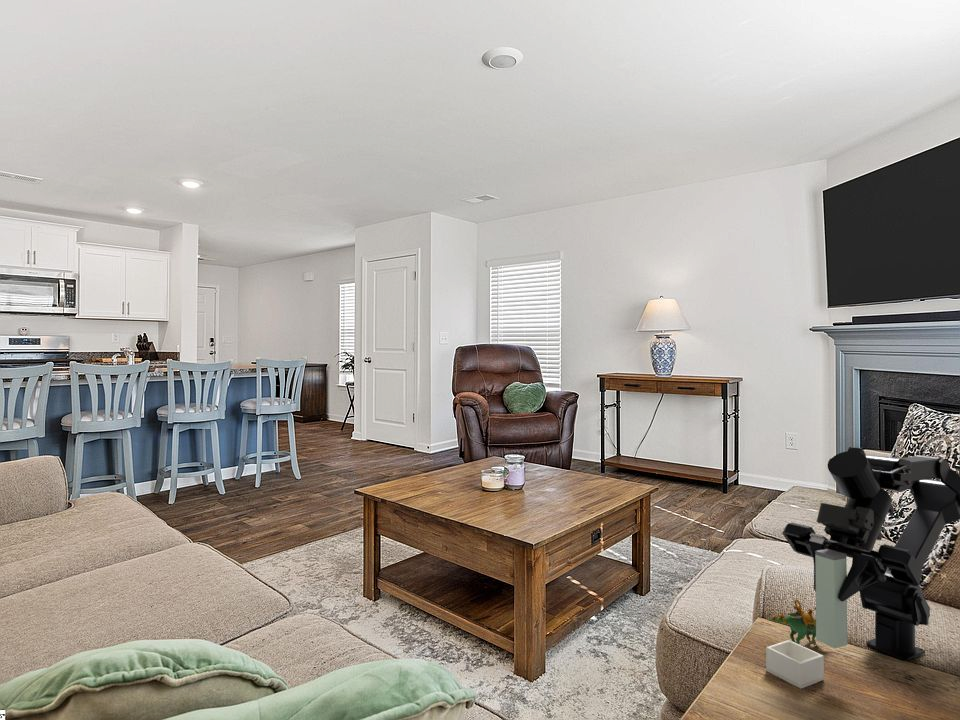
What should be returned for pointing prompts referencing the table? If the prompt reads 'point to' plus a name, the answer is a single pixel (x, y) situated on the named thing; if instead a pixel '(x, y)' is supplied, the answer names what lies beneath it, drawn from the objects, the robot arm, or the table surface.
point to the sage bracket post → (830, 598)
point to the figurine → (799, 623)
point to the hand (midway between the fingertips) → (828, 595)
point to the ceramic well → (795, 663)
